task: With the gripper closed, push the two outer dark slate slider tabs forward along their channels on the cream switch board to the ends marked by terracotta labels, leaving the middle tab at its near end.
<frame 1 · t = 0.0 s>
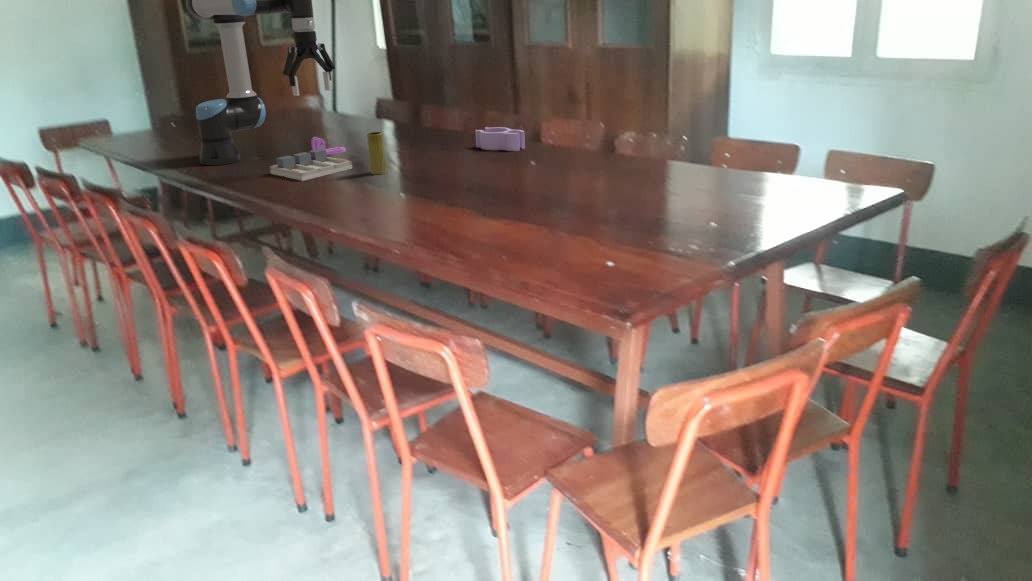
hand: (312, 93, 286), 28 cm above the table, fingers open, 13 cm apart
vase: (378, 173, 289), on the table
clip: (501, 148, 322), on the table
slider A: (286, 162, 292), point 4 cm above the table, slide at 0.0 cm
slider B: (302, 159, 297), point 4 cm above the table, slide at 0.0 cm
slider C: (317, 155, 302), point 4 cm above the table, slide at 0.0 cm
bracket: (330, 153, 325), on the table
switch board: (311, 171, 295), on the table
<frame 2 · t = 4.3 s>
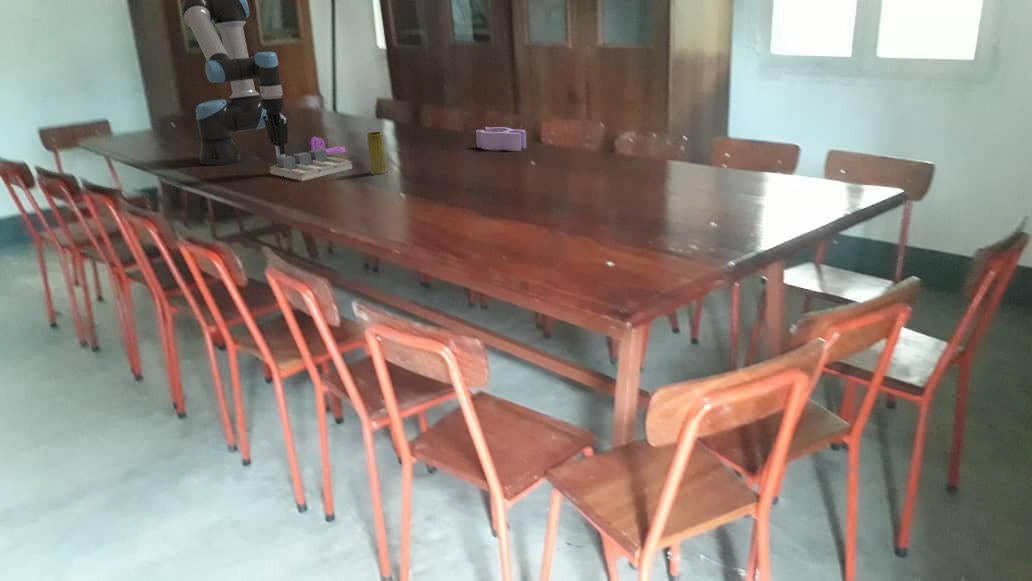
hand: (282, 162, 294), 4 cm above the table, fingers closed
slider A: (286, 163, 292), point 4 cm above the table, slide at 0.1 cm, touching gripper
everything else where it was.
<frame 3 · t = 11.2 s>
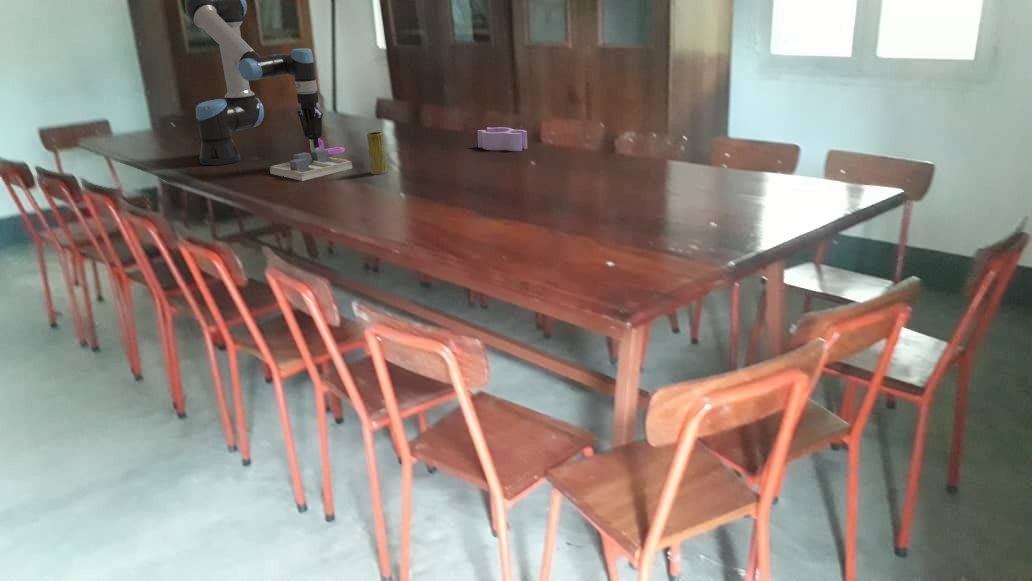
hand: (315, 155, 303), 4 cm above the table, fingers closed
slider A: (299, 165, 287), point 4 cm above the table, slide at 8.2 cm
slider C: (319, 156, 301), point 4 cm above the table, slide at 1.3 cm, touching gripper
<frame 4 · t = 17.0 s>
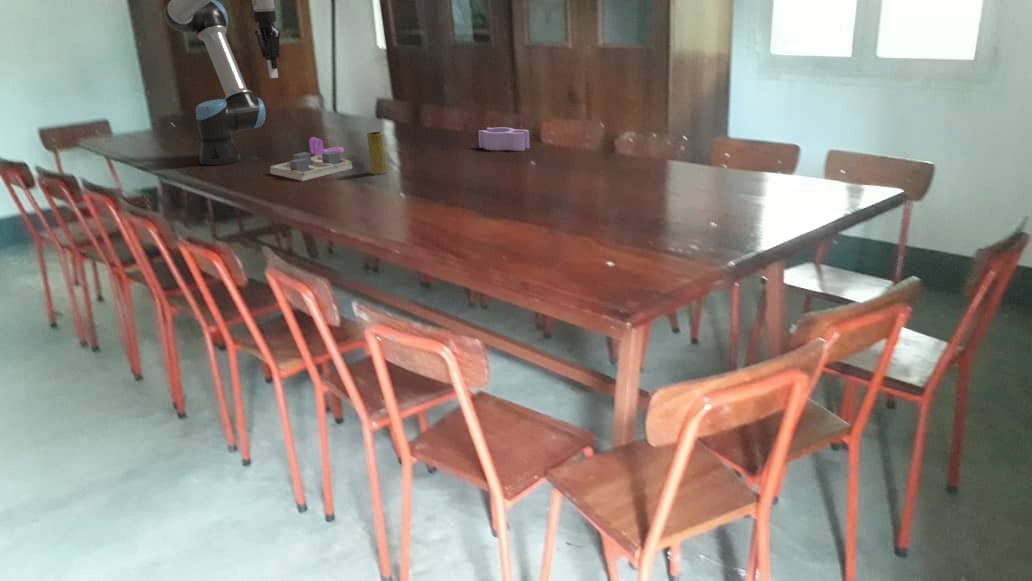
hand: (274, 77, 296), 32 cm above the table, fingers closed
slider C: (331, 158, 297), point 4 cm above the table, slide at 8.2 cm
at the end: slider A slide at 8.2 cm; slider C slide at 8.2 cm; slider B slide at 0.0 cm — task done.
